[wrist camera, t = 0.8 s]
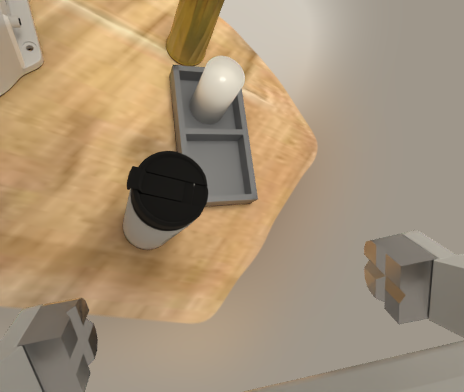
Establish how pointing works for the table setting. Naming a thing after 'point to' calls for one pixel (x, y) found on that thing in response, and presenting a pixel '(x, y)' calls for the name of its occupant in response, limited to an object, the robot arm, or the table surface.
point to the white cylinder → (216, 89)
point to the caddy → (214, 142)
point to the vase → (192, 30)
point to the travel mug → (163, 198)
